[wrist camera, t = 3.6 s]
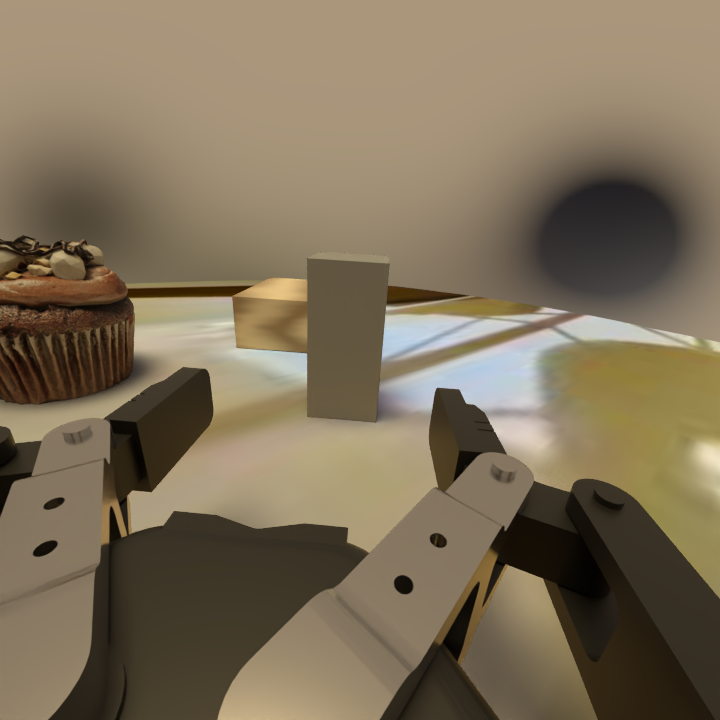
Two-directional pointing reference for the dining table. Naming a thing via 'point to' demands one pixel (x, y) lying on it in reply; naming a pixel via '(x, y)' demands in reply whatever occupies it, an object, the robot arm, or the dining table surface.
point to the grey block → (345, 334)
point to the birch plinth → (272, 315)
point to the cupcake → (61, 322)
